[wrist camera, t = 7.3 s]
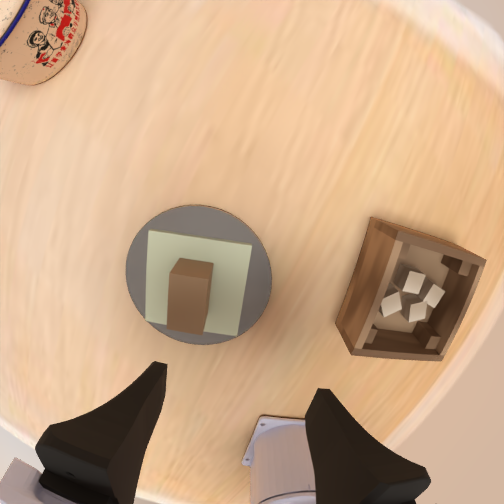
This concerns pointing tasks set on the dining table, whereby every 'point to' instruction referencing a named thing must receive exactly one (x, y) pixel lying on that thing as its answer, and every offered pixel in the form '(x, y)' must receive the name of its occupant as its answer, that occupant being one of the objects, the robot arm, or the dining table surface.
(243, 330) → the coaster
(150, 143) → the dining table surface
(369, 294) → the brown wooden open box
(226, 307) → the lid
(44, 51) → the teacup with lid
